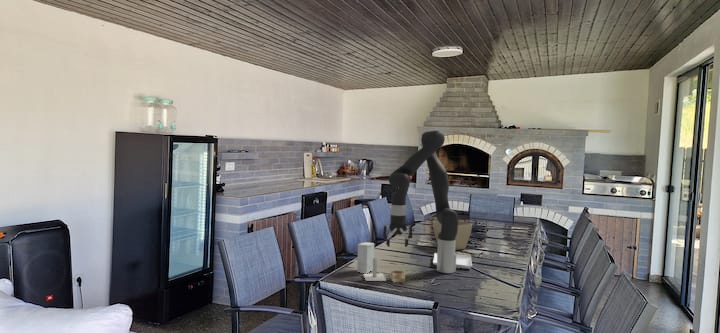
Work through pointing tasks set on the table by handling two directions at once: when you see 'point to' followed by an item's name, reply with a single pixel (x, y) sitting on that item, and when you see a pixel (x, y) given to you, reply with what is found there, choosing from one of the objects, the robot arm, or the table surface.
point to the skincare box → (365, 257)
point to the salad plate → (458, 261)
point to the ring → (397, 276)
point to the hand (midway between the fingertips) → (397, 246)
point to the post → (374, 273)
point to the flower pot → (462, 233)
